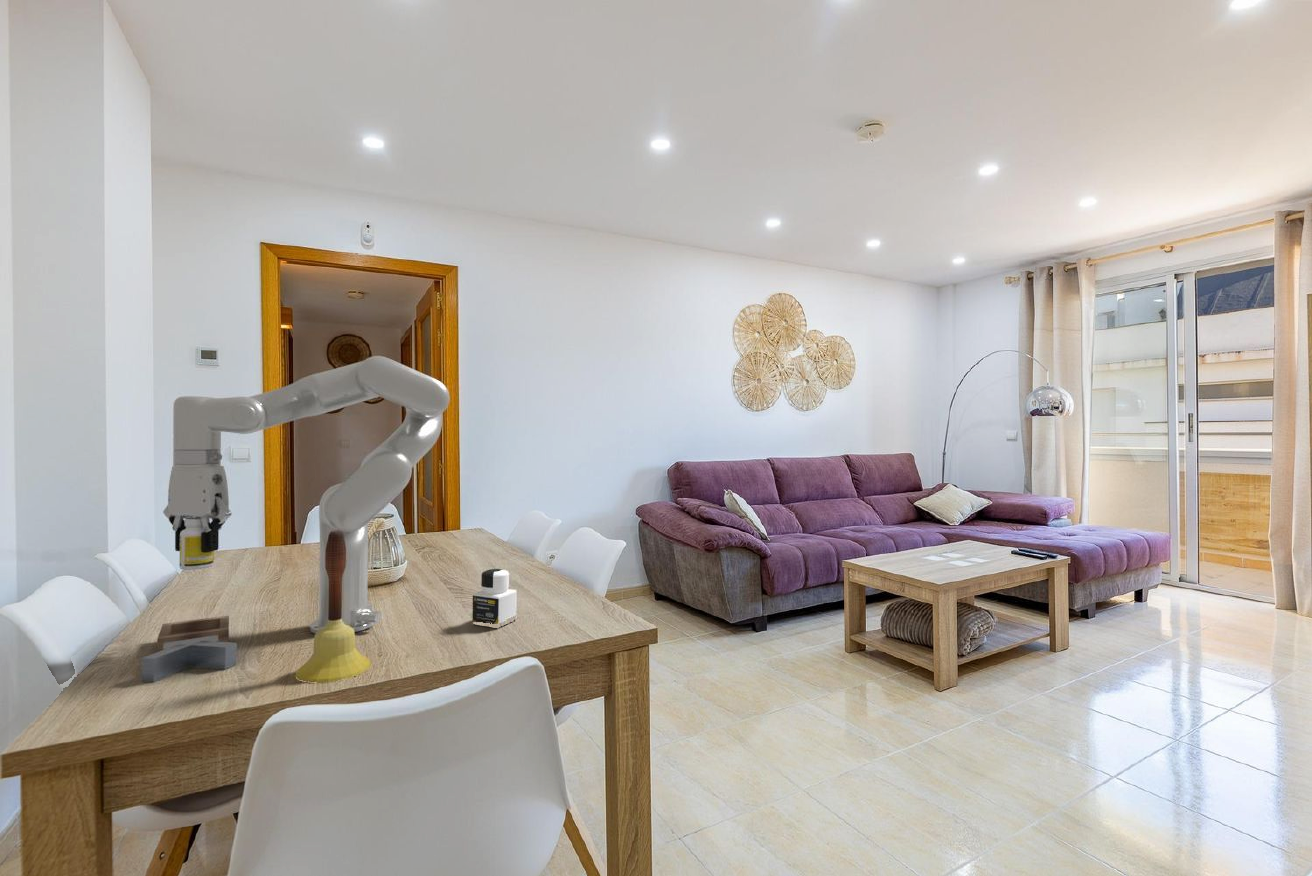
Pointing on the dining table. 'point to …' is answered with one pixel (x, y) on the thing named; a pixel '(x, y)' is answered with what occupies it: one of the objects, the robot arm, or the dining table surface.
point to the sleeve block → (194, 630)
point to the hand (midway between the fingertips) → (196, 549)
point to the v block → (188, 657)
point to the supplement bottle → (193, 546)
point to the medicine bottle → (494, 598)
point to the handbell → (334, 628)
